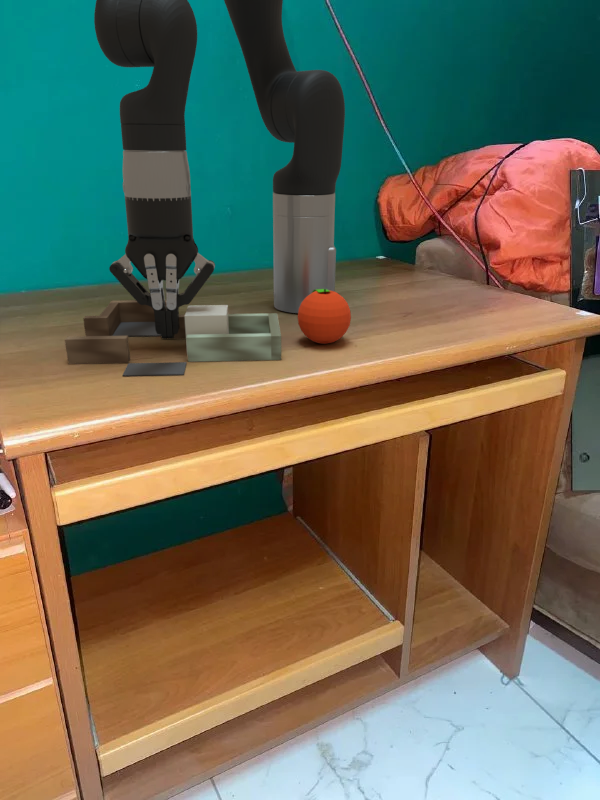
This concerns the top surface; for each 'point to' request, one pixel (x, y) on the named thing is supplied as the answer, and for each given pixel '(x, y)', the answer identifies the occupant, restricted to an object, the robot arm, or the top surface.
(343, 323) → the clementine
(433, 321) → the top surface
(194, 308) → the cream block
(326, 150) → the robot arm
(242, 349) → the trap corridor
